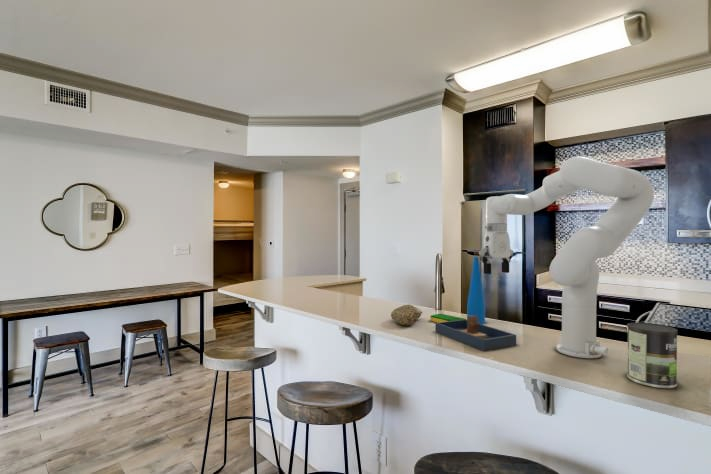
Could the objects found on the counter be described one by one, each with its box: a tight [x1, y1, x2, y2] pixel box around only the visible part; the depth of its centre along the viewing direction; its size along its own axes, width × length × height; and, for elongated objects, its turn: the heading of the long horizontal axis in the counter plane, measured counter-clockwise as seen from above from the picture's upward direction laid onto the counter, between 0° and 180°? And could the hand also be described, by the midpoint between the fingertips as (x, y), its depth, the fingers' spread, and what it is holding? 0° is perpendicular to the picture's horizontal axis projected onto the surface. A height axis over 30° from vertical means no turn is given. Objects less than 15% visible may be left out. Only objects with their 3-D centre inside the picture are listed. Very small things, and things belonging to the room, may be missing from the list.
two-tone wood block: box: [459, 315, 487, 339], centre depth 137 cm, size 9×5×8 cm, turn 25°
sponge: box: [390, 304, 423, 326], centre depth 161 cm, size 13×8×20 cm
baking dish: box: [435, 318, 517, 352], centre depth 137 cm, size 26×15×4 cm, turn 25°
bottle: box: [466, 251, 486, 325], centre depth 162 cm, size 7×7×30 cm
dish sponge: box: [429, 313, 467, 323], centre depth 161 cm, size 7×14×2 cm, turn 38°
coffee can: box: [626, 321, 679, 389], centre depth 98 cm, size 10×10×14 cm
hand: (496, 273), depth 145 cm, fingers open, 9 cm apart
